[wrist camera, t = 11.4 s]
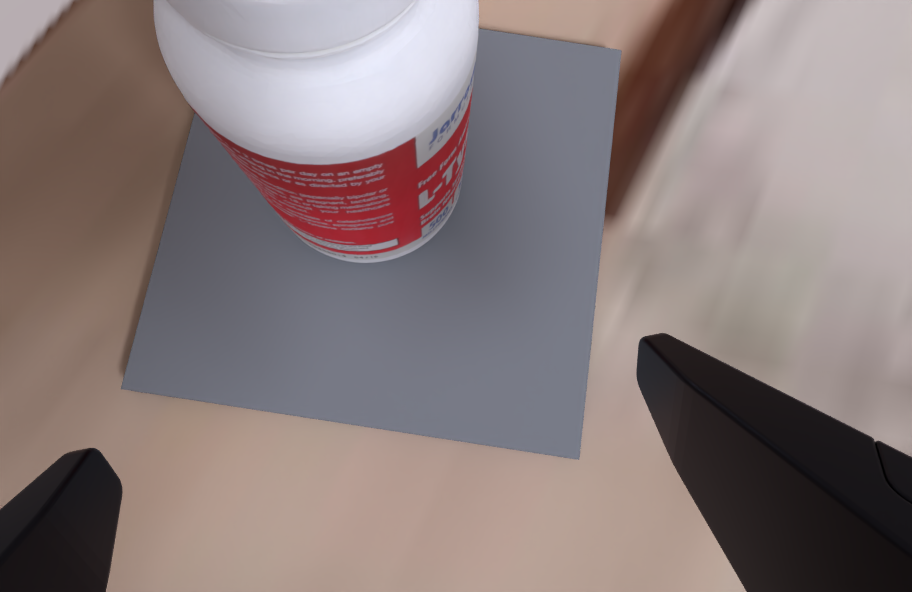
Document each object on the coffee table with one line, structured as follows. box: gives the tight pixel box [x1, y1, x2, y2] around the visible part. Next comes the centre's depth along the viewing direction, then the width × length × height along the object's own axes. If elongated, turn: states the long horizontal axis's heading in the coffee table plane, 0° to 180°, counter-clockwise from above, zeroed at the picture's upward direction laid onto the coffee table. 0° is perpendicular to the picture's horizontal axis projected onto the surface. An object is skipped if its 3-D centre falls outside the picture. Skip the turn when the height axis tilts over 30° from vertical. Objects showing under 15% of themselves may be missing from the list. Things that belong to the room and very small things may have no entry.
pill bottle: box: [154, 0, 479, 263], centre depth 13 cm, size 6×6×11 cm
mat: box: [121, 28, 621, 460], centre depth 19 cm, size 14×14×1 cm
